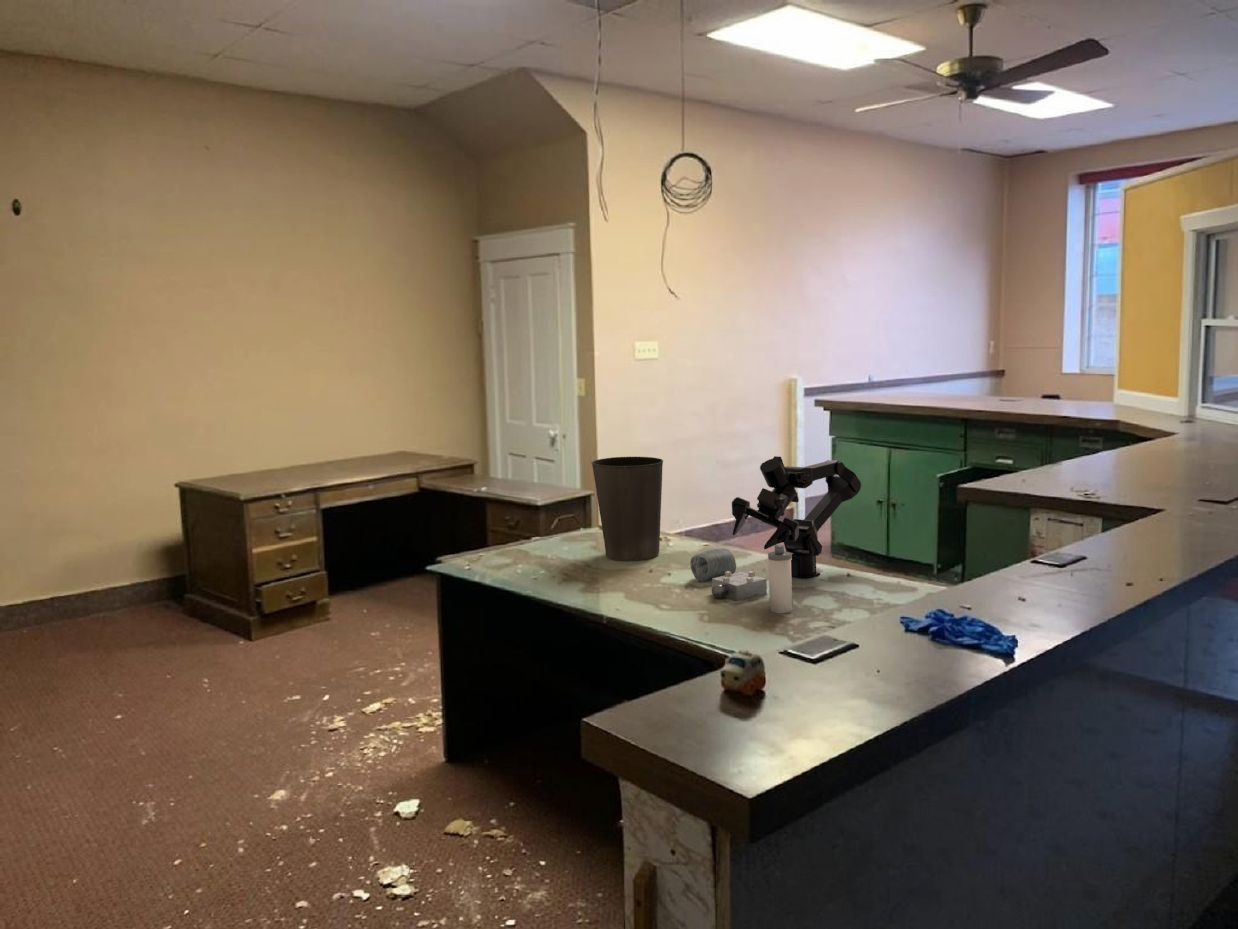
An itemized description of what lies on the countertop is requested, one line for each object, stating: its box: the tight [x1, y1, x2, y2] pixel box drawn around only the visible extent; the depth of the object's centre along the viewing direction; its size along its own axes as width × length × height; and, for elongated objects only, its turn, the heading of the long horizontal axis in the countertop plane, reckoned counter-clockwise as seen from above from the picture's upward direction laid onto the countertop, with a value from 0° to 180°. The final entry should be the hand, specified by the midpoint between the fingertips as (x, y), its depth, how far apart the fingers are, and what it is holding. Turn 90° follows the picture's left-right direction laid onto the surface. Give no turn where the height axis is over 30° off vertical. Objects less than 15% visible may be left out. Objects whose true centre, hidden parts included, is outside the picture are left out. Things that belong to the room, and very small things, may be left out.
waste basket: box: [591, 456, 664, 562], centre depth 289 cm, size 27×20×30 cm
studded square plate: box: [711, 571, 768, 602], centre depth 240 cm, size 13×10×5 cm
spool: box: [690, 547, 737, 583], centre depth 258 cm, size 14×10×10 cm
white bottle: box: [767, 544, 793, 614], centre depth 224 cm, size 6×6×16 cm
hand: (748, 541), depth 238 cm, fingers open, 9 cm apart
